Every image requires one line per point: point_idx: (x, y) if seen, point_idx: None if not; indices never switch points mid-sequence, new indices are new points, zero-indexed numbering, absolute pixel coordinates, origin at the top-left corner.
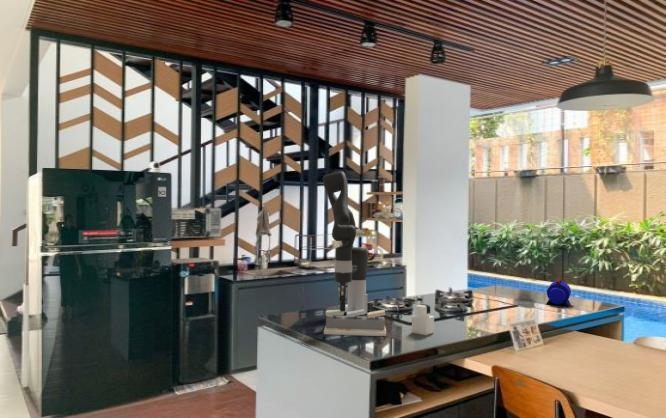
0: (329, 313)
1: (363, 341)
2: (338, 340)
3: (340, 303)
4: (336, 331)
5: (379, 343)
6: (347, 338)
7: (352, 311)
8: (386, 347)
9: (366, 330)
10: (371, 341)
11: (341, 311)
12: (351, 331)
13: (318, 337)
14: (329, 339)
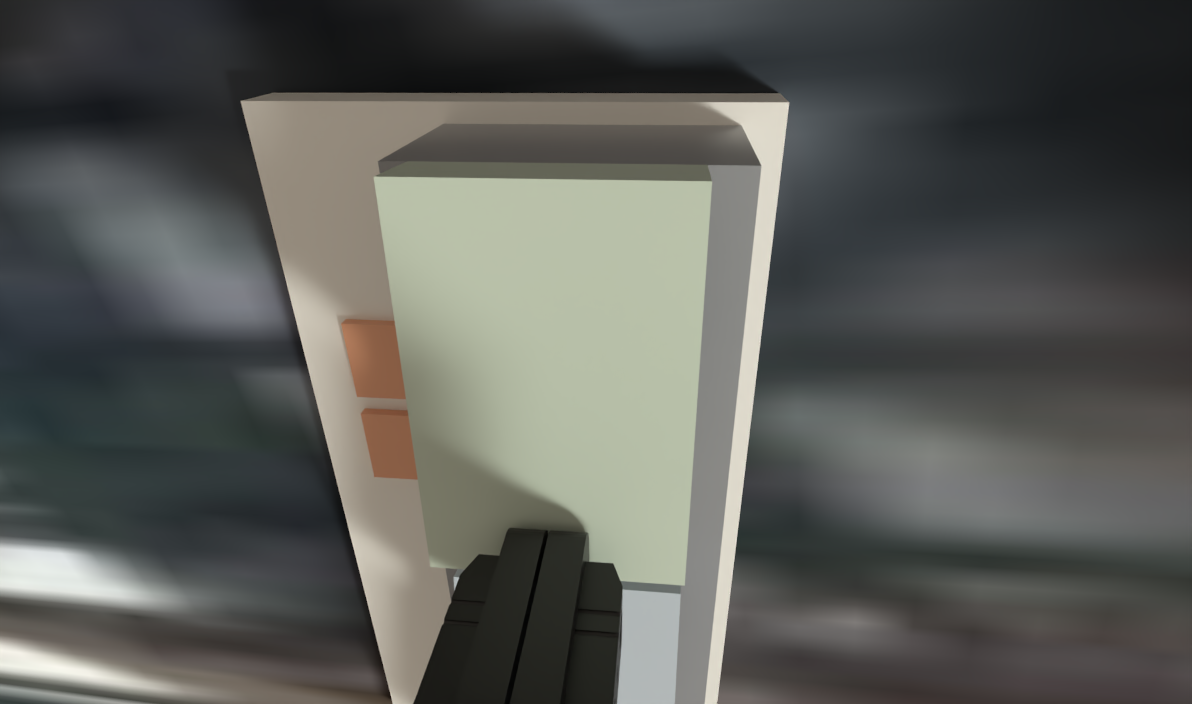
0: (400, 270)
1: (141, 538)
2: (46, 310)
3: (465, 679)
4: (296, 298)
5: (141, 640)
6: (186, 405)
7: (628, 686)
8: (48, 666)
9: (438, 616)
10: (176, 595)
11: (472, 538)
12: (337, 477)
13: (49, 21)
14: (30, 199)
